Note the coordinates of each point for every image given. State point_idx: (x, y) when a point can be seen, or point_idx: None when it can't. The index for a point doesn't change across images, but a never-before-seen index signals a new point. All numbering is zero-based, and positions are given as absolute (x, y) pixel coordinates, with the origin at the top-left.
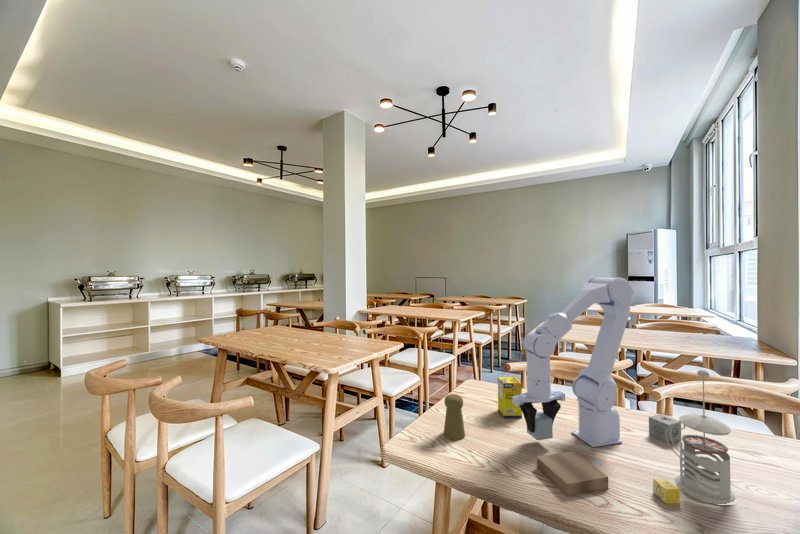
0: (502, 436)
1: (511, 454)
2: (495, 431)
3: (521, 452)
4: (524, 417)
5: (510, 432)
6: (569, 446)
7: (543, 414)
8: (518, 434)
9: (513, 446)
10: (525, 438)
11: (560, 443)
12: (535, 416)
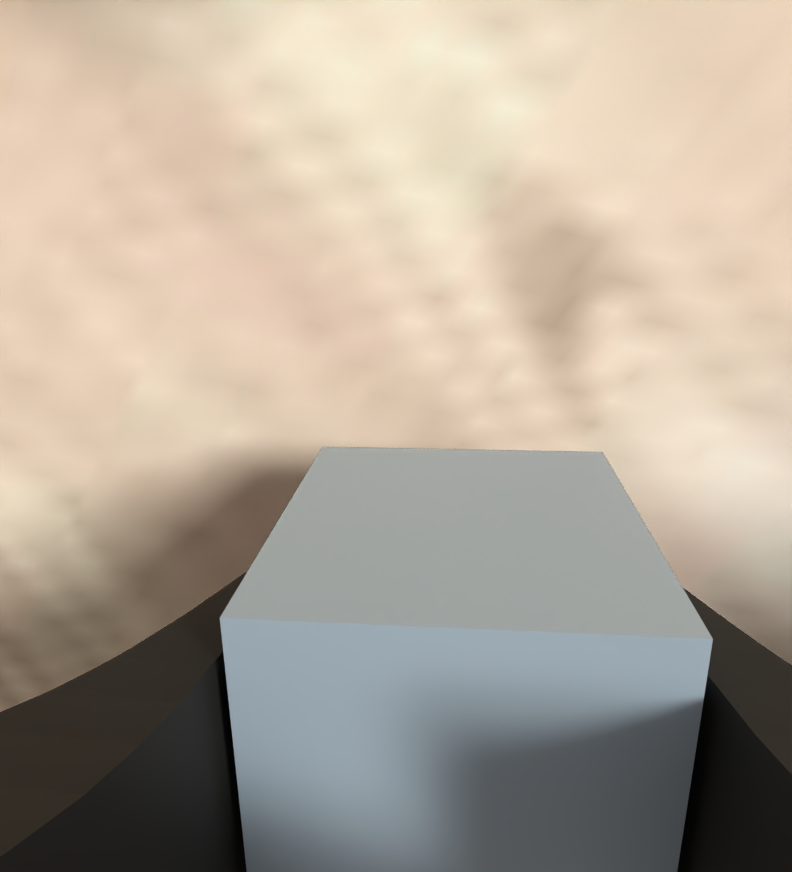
0: (66, 213)
1: (29, 605)
2: (11, 33)
3: (150, 602)
4: (137, 651)
5: (231, 124)
6: (780, 648)
7: (631, 784)
8: (322, 215)
9: (113, 477)
10: (360, 346)
11: (730, 568)
12: (351, 807)
